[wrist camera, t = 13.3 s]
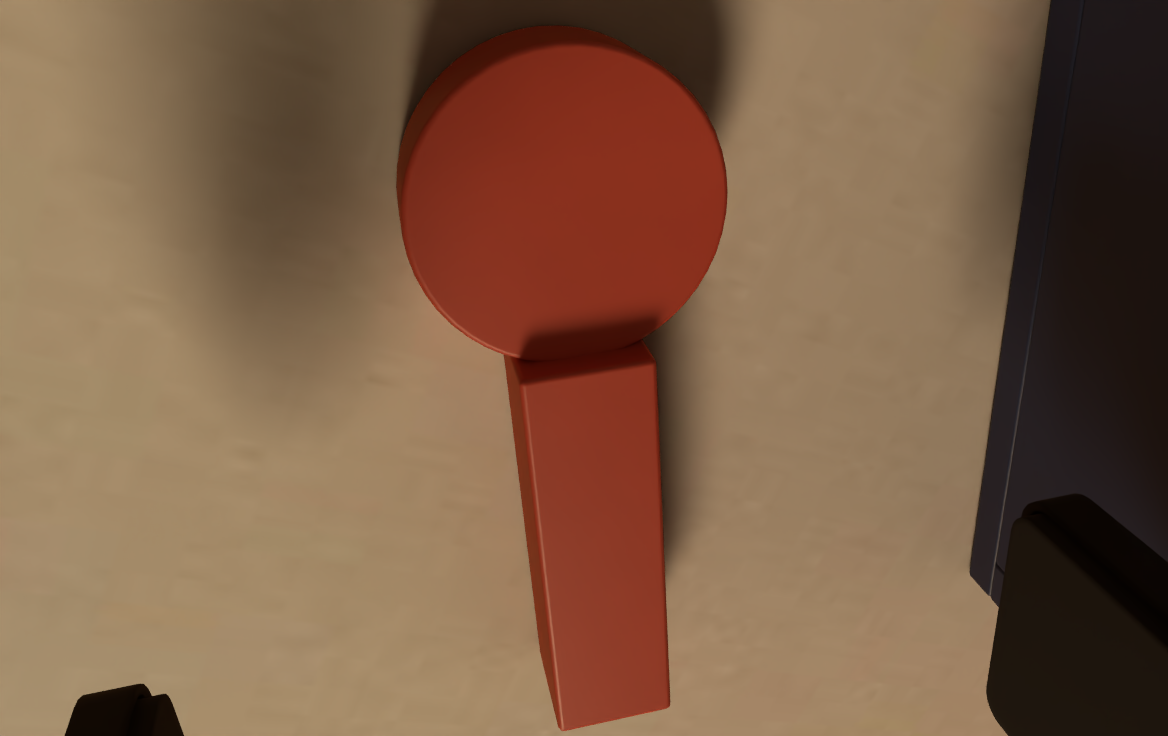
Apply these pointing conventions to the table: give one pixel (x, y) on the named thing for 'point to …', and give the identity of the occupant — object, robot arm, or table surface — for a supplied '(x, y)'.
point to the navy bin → (1087, 287)
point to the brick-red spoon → (572, 315)
